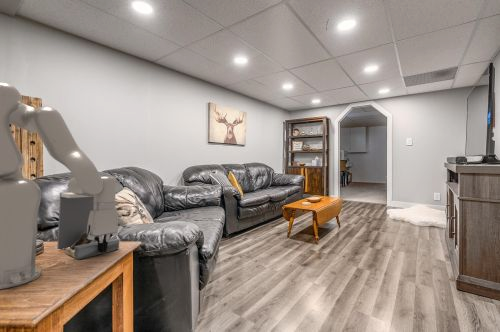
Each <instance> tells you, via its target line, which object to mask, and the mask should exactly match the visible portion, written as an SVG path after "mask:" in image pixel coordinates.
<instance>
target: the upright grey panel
mask: <svg viewBox="0 0 500 332" xmlns="http://www.w3.org/2000/svg"><path fill="white" fill-rule="evenodd" d="M93 199H94V196H84V195H77V194H74V193H72V192H60V193H59V205H58V206H59V207H58V208H59V209H58V225H57V226H58V227H57V228H58V229H57V230H58V232H57V249H62V250H64V249H63V248H68V247H70V246H72V244H74V243H75V241H76V240H77V239H78V238H79V237H80V236H81V235H82V234H83V233H84V232H85V231H86V234H87V224H88V219H89V214H90V211H91V210H93ZM87 235H88V234H87Z"/></svg>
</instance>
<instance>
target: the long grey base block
mask: <svg viewBox="0 0 500 332" xmlns="http://www.w3.org/2000/svg"><path fill="white" fill-rule="evenodd" d="M116 249H117V250H119V249H120V239H118V238H115V237H111V238H110V239H109V241H108V246H107V250H106V252H103V253H101V252H99V251H98V242H93V243H89V244H84V245H80V246H75V251H74V250H72V249H70V248H66V249H65V250H64V251H65V254H66V255H69V256H70V257H72V258H75V259H76V260H78V261H79V260H84V259H86V258H90V257H94V256H98V255H101V254H105V253H108V252H112V251H116Z"/></svg>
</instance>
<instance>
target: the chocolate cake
mask: <svg viewBox="0 0 500 332" xmlns="http://www.w3.org/2000/svg"><path fill="white" fill-rule="evenodd" d="M87 238H88V235H87V234H86V231H85V232H84V233H83V234H82V235H81V236H80V237H79V238H78V239H77V240H76V241H75V243H74V244H72V246H70V249H72V250H74V251H75V246H80V245H84V244H89V243H93V242H97V241H96V240H89V239H87Z"/></svg>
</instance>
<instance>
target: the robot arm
mask: <svg viewBox="0 0 500 332" xmlns="http://www.w3.org/2000/svg"><path fill="white" fill-rule="evenodd" d="M10 125H12V126H14V127H16V128H20V129H23V130H24V131H28V132H31V133H34V134H37V135H38V137H39V138H40V139H39V140H41V142H42V143H43V145H44V147H45V150H46V151H47V152H48V154H49V155H50V156H51V158H53V159H54V160H55V161H57V162H59V163H60V164H62V165H63V166H64V167H66V168H67V169H68V171H69V172H70V173H71V175H73V177H72V178H70V180H69V181H68V182H67V188H68V191H69V192H70V193H74V194H77V195H84V196H94V199H93V210H91V211H90V214H89V219H88V224H87V234H88V238H87V239H89V240H96V241H97V242H98V251H99V252H101V253H102V254H104V253H103V252H106V250H107V246H108V241H109V239H112V238H113V237H115V235H118V230H119V218H118V217H119V216H118V215H119V214H118V210H117V208H116V206H119V202H116V191H117V190H116V188H117V186H116V185H117V179H116V177H114V176H112V175H110V176H107V175H106V176H105V175H104V176H102V175H101V174H100V172H99V170H98V169H97V167H96V165H95V164H94V162H93V161H92V160H91V159H90V158H89V157H88V156H87V155H86V154H85V153H84V151H83V150H81V148H80V147H79V146H78V143H77V142H76V141H75V137H73V134H72V132H71V130H70V128H69V126H68V125H67V123H66V121H65V120H64V117H63V116H62V114H61V113H60V112H59V111H58V110H57V109H55V108H53V107H50V106H39V107H32V106H31V105H29V104H26V103H24V102H23V97H22V94H21V93H20V91H19V90H18V88H16V87H15V86H13V85H11V84H9V83H6V82H1V81H0V290H3V289H8V288H13V287H17V286H21V285H23V284H26V283H29V282H32V281H34V280H36V279H37V278H40V276H41V275H42V270H41V268H37V267H36V261H37V260H36V258H37V257H36V256H37V237H38V216H39V211H40V210H39V209H40V205H41V200H42V190H41V187H40V186H39V184H38V183H36V182H35V181H34V180H32V179H29V178H27V177H26V178H25V177H24V176H23V173H22V172H21V170H22V168H23V167H24V164H25V159H24V156H23V153H22V152H21V150H20V148H19V146H18V144H17V142H16V139H15V138H14V136H13V133H12V129H11V127H10ZM106 253H107V252H106Z"/></svg>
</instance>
